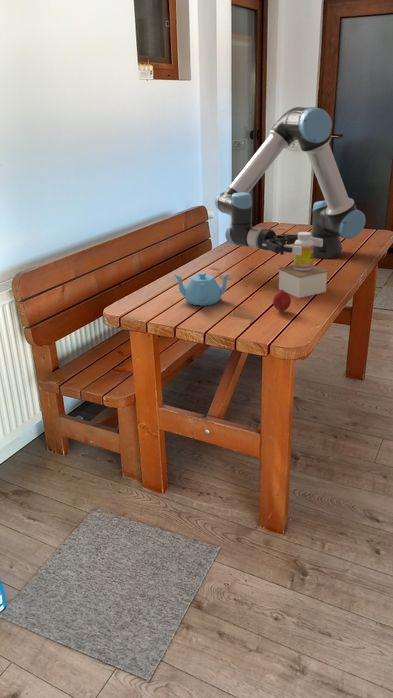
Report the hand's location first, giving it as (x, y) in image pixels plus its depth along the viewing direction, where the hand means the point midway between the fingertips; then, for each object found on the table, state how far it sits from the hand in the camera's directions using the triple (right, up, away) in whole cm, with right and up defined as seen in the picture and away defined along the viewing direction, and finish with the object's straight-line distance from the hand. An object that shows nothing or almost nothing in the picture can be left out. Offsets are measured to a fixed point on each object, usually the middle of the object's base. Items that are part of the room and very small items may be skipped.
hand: (312, 247), depth 199 cm
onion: (-12, -23, -10) cm, 28 cm away
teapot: (-38, -19, +2) cm, 43 cm away
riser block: (-2, -14, +9) cm, 17 cm away
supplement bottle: (-2, -7, +6) cm, 9 cm away
